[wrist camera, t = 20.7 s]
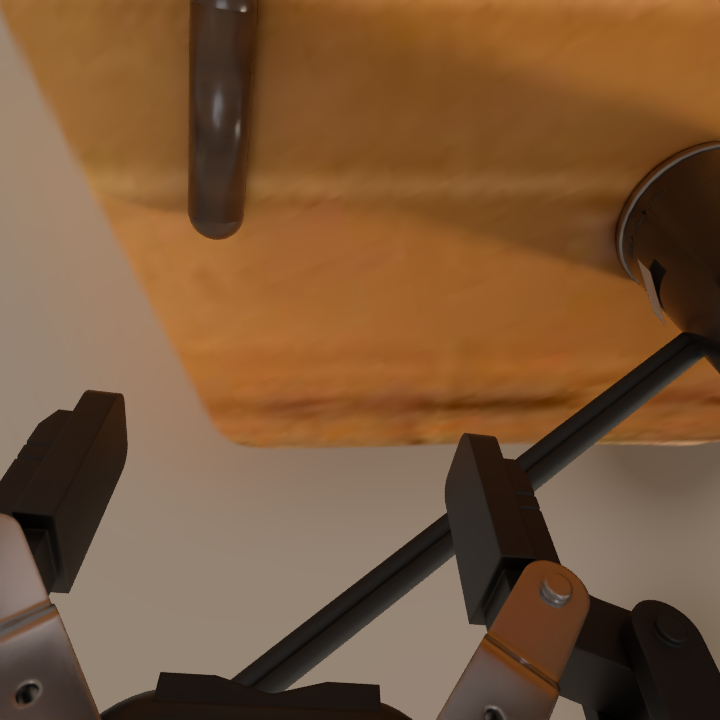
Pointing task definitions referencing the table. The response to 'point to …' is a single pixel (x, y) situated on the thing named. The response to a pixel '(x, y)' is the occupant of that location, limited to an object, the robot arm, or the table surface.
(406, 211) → the table surface
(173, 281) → the table surface
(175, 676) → the robot arm
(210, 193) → the brown-handled spatula
